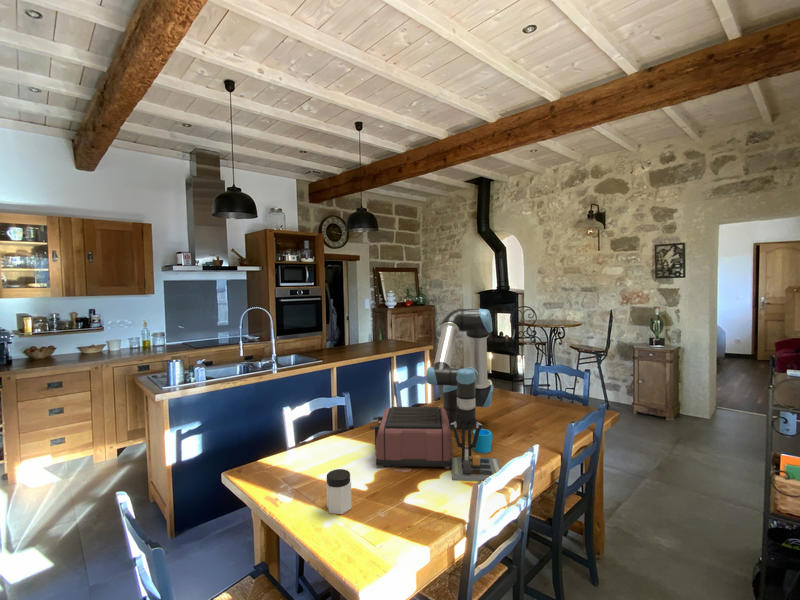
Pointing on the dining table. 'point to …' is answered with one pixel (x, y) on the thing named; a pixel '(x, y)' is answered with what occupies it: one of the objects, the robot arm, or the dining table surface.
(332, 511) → the jar
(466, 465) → the breaker
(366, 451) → the dining table surface
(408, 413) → the toaster
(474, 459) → the breaker
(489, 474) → the panel
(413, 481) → the dining table surface
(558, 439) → the dining table surface
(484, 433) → the mug
